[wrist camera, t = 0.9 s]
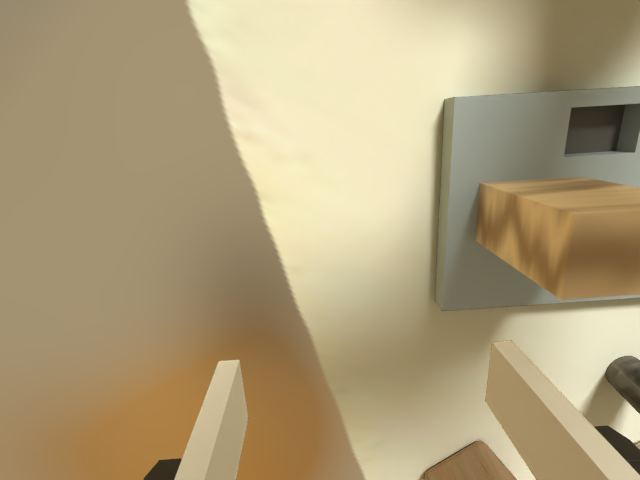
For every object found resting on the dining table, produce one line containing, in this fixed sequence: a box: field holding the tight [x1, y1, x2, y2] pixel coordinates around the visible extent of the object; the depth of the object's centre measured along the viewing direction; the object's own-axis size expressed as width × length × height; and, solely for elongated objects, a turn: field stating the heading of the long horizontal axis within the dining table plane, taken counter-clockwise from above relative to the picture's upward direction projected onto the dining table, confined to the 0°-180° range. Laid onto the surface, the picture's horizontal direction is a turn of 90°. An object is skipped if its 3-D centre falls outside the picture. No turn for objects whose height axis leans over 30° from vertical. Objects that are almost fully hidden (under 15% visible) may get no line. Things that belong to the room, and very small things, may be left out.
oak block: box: [475, 177, 640, 300], centre depth 29 cm, size 6×10×13 cm, turn 93°
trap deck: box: [435, 86, 640, 311], centre depth 35 cm, size 22×32×6 cm
